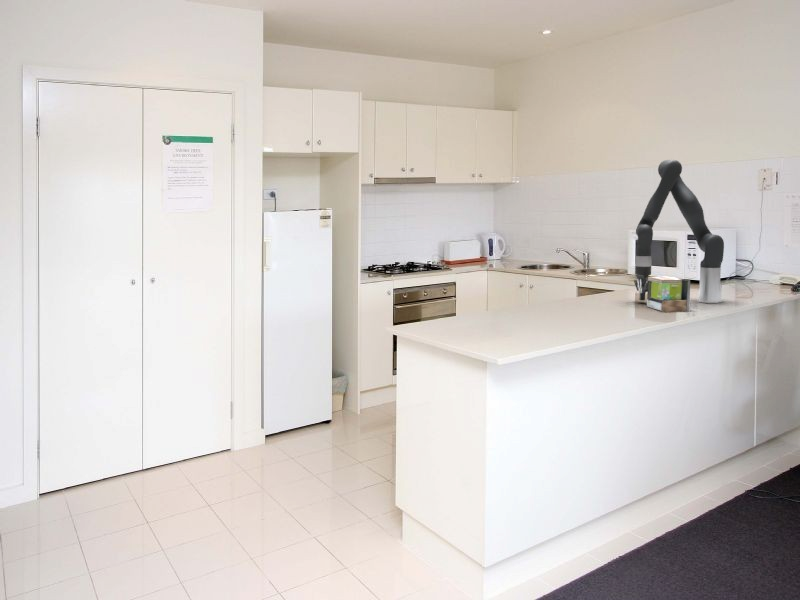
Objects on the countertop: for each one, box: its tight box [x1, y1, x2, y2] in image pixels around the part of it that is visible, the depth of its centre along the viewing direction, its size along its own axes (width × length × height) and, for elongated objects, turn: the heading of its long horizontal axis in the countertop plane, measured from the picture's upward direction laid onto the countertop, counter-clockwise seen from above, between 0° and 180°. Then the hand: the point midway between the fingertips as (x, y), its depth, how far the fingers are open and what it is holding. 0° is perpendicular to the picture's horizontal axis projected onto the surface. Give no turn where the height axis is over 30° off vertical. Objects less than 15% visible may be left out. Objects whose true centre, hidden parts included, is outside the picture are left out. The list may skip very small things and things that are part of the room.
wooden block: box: [661, 300, 688, 313], centre depth 318 cm, size 12×1×5 cm, turn 99°
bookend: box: [677, 277, 691, 312], centre depth 323 cm, size 1×13×14 cm, turn 9°
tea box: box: [646, 275, 683, 312], centre depth 325 cm, size 15×10×15 cm, turn 5°
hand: (642, 300), depth 344 cm, fingers closed
